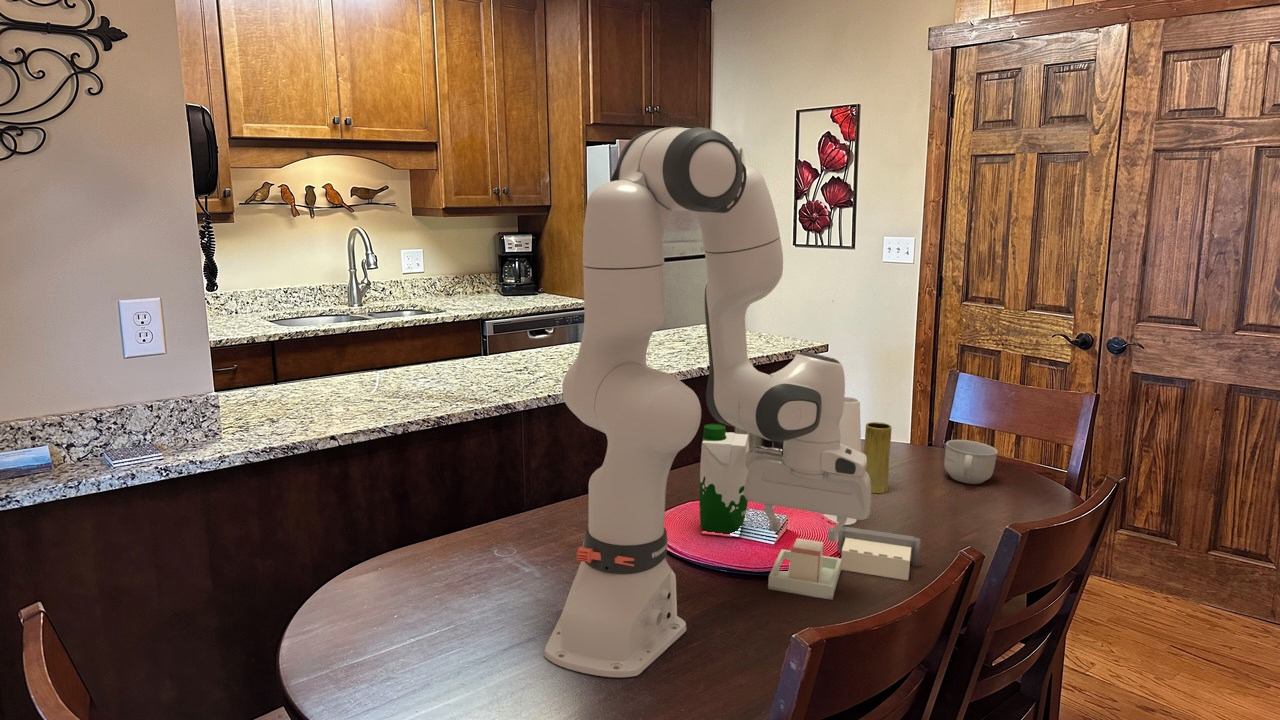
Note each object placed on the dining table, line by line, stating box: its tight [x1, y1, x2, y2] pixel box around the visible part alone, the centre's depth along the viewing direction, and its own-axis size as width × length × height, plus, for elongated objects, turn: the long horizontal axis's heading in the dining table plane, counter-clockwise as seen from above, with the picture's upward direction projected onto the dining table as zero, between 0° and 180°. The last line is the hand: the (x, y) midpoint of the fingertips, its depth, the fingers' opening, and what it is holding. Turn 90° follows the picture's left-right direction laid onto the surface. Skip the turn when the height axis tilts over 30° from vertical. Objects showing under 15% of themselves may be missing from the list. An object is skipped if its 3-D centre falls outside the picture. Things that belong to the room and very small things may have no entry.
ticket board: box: [836, 526, 922, 581], centre depth 146 cm, size 8×14×5 cm, turn 70°
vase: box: [862, 421, 892, 494], centre depth 183 cm, size 6×6×14 cm
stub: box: [789, 537, 824, 583], centre depth 140 cm, size 7×4×5 cm, turn 161°
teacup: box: [943, 439, 998, 485], centre depth 189 cm, size 14×11×8 cm
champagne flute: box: [824, 396, 862, 526], centre depth 165 cm, size 7×7×24 cm
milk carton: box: [698, 423, 749, 534], centre depth 159 cm, size 9×9×20 cm
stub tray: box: [767, 548, 842, 601], centre depth 140 cm, size 11×10×2 cm
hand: (803, 535), depth 139 cm, fingers open, 8 cm apart
